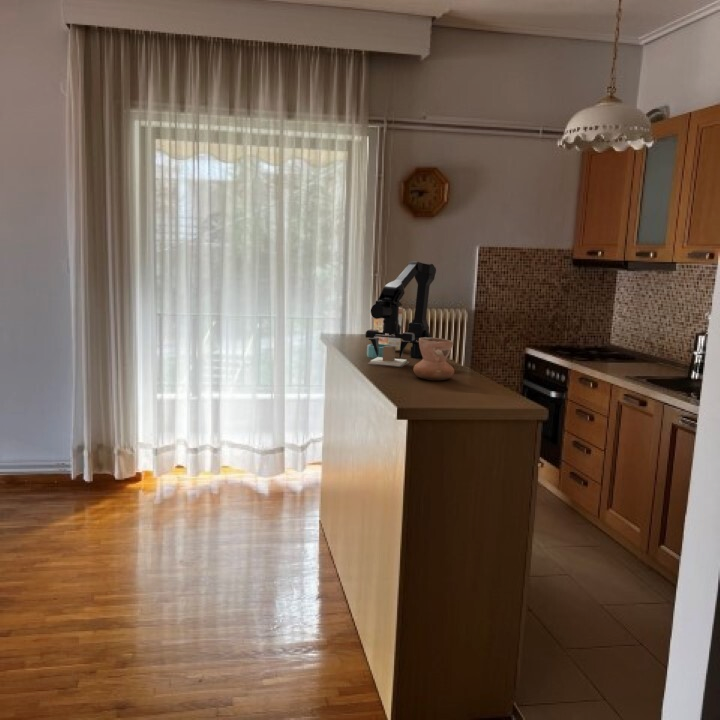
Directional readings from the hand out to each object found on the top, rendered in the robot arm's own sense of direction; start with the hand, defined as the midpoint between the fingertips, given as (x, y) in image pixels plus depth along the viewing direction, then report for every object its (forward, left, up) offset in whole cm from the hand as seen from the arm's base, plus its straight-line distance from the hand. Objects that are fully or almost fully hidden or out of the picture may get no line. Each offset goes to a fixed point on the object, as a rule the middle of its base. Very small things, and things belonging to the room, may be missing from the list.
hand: (388, 357), depth 279 cm
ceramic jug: (-22, +23, -3) cm, 32 cm away
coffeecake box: (+12, -44, -3) cm, 46 cm away
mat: (0, 0, -3) cm, 3 cm away
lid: (0, 0, -2) cm, 2 cm away
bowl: (+7, -14, -3) cm, 16 cm away
